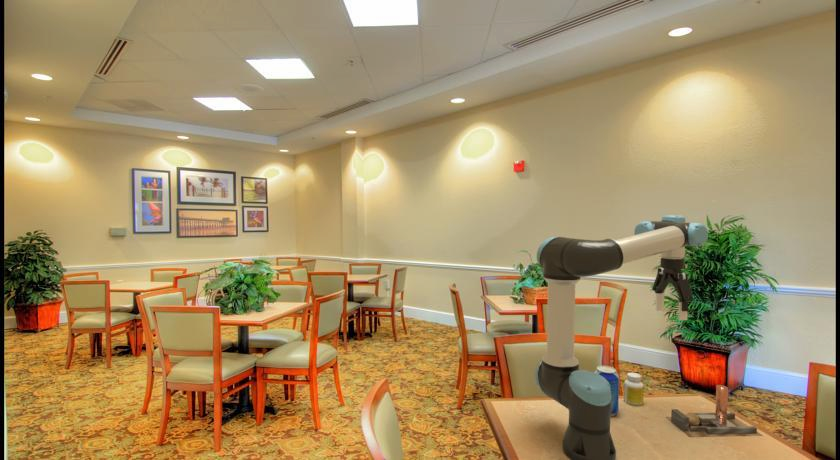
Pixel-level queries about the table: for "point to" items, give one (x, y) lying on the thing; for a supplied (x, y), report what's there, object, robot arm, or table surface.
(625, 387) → the pill bottle
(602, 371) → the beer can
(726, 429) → the base
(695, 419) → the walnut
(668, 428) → the table surface
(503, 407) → the table surface
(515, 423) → the table surface
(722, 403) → the lever handle
